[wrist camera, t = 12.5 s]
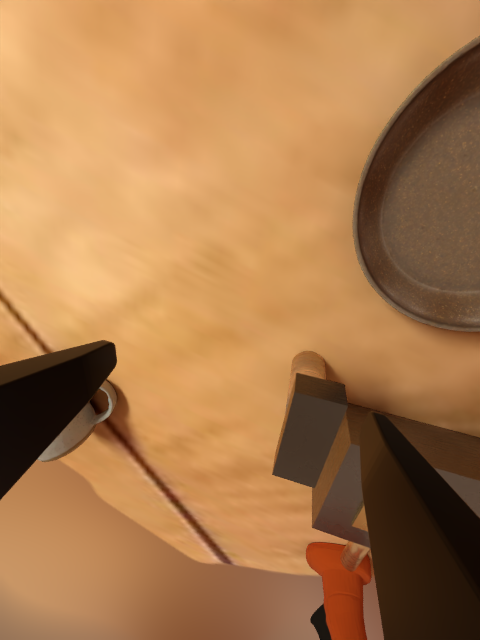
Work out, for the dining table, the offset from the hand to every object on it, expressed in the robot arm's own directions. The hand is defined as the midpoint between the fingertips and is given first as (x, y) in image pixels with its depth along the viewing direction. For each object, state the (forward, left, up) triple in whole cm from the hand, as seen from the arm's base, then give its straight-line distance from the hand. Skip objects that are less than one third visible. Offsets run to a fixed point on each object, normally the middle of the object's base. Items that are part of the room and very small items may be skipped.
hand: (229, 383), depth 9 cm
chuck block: (-14, +20, -13) cm, 28 cm away
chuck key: (-4, +7, -13) cm, 15 cm away
